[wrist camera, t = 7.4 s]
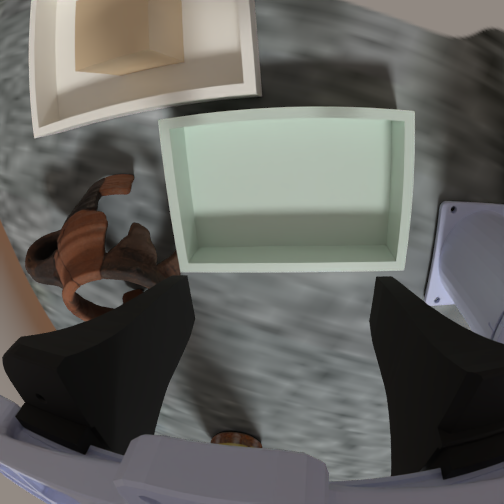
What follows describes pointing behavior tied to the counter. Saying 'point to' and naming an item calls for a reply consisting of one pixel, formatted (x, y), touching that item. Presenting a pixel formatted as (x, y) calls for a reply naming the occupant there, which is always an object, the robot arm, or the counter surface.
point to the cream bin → (147, 81)
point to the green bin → (290, 188)
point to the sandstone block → (127, 35)
